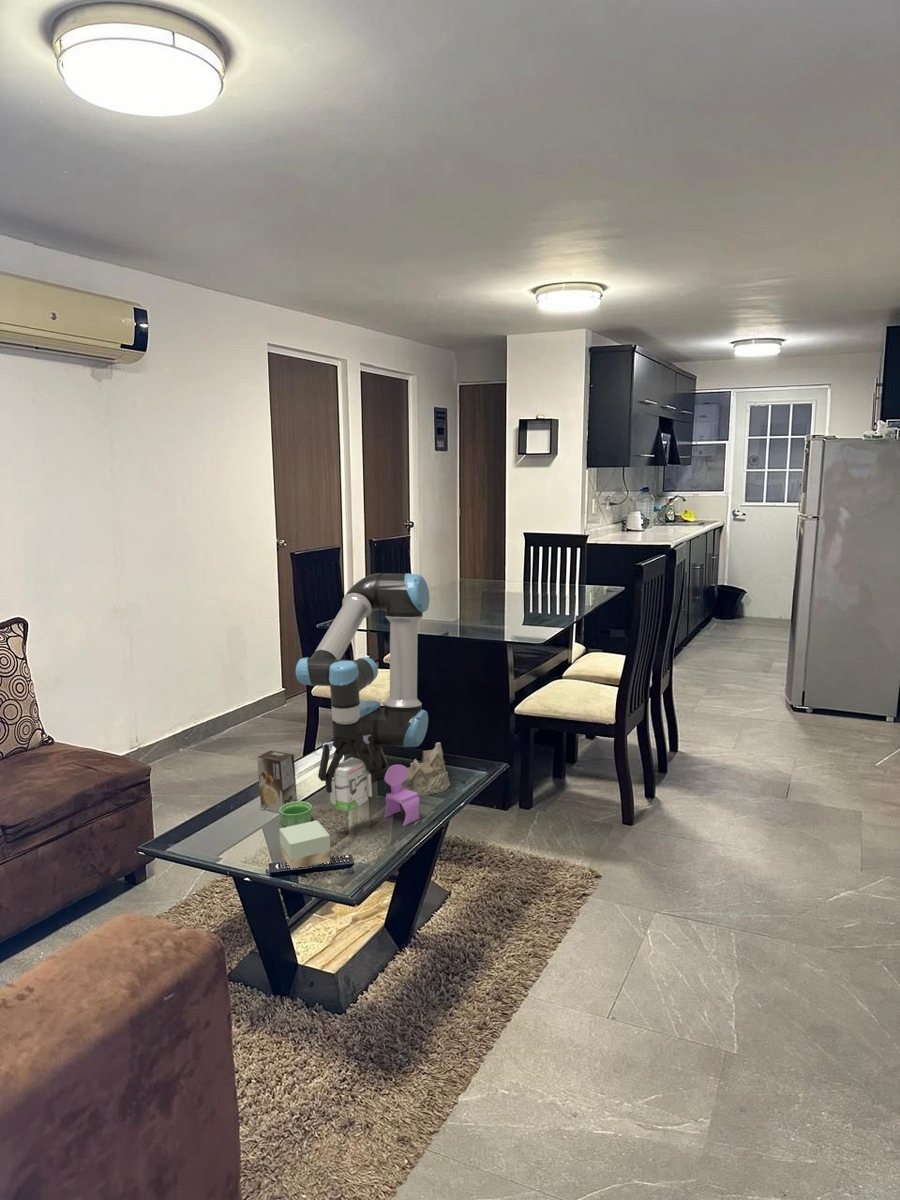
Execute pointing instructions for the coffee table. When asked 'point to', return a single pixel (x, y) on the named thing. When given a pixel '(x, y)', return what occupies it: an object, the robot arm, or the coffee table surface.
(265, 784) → the coffee box
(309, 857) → the bottom slab
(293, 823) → the ramekin
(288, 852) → the top slab
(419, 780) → the ceramic cottage
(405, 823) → the toy chair
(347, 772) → the ink box
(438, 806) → the coffee table surface
